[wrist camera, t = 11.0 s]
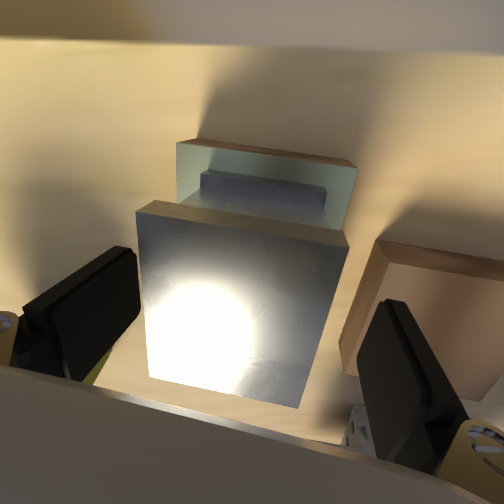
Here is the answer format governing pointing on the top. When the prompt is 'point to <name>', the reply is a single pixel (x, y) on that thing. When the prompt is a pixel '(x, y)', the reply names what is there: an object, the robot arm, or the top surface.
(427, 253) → the stand
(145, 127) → the top surface
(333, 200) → the stand
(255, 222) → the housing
